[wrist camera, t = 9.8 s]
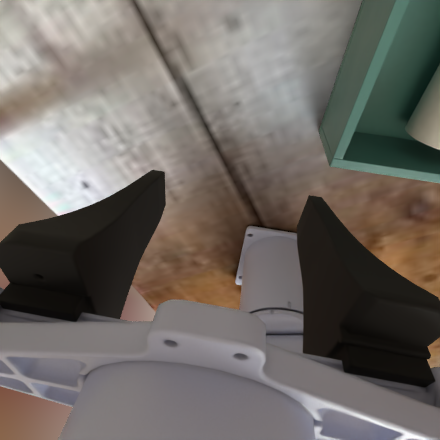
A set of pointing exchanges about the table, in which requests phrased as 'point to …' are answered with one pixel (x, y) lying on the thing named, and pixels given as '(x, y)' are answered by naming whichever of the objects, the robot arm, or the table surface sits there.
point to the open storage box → (384, 91)
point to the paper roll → (427, 115)
